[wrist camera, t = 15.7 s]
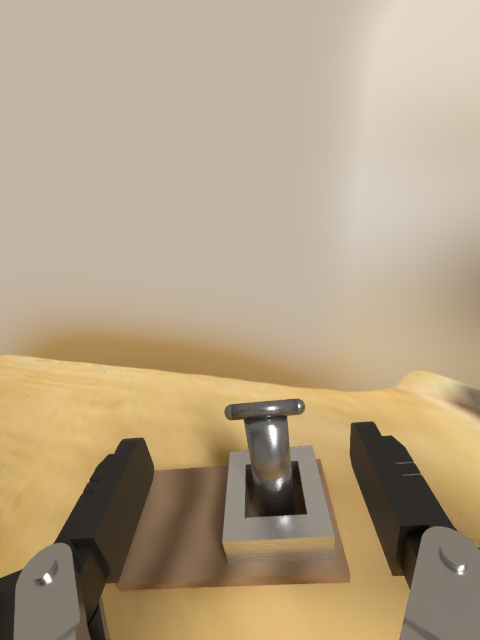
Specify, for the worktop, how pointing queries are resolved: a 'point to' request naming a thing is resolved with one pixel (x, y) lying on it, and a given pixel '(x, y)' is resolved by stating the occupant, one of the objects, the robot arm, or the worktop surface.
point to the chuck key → (269, 451)
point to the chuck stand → (234, 530)
